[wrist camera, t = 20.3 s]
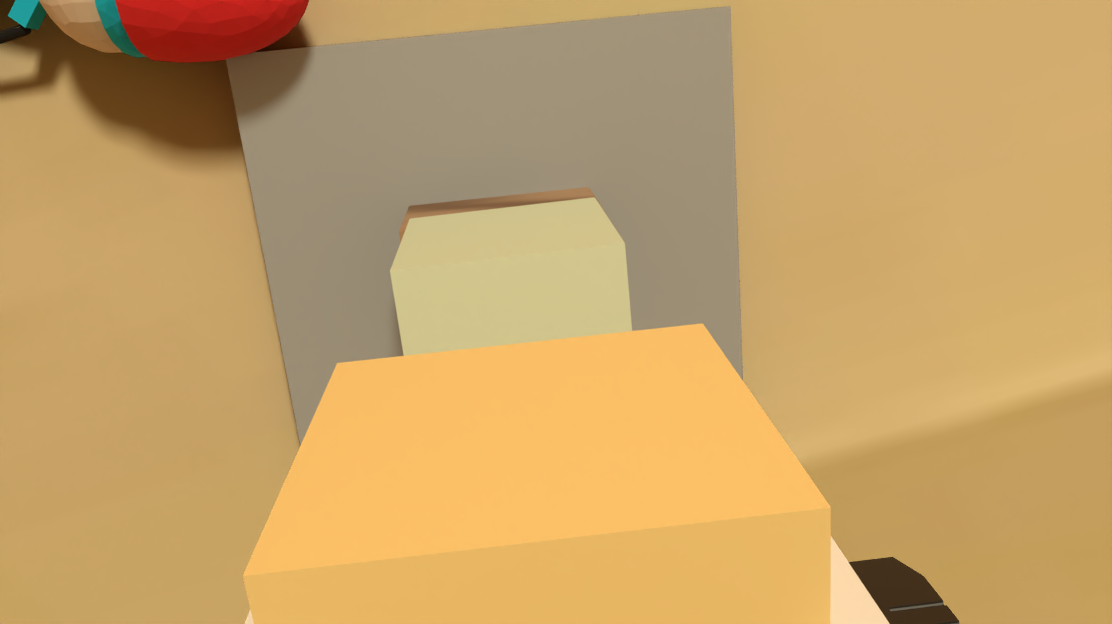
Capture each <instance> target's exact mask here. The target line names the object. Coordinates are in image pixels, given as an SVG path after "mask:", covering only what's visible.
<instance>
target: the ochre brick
mask: <svg viewBox="0 0 1112 624" xmlns="http://www.w3.org/2000/svg"><path fill="white" fill-rule="evenodd" d="M243 579H244V583H245V587H246V592H247V596H248V601H249V605H250V610H251V614H252V618H253V623H254V624H830V606H831V507H830V506H829V504H828V503H827V501H826V500H825V499H824V497H823V496H822V494H821V493H820V491H819V490H818V489H817V487H816V486H815V484H814V483H813V481H812V480H811V478H810V477H809V476H808V474H807V473H806V471H805V470H804V468H803V467H802V466H801V464H800V463H799V461H798V460H797V458H796V457H795V455H794V454H793V453H792V451H791V450H790V448H789V447H788V445H787V444H786V442H785V441H784V440H783V438H782V437H781V435H780V434H779V432H778V431H777V430H776V428H775V427H774V425H773V424H772V422H771V421H770V419H769V418H768V417H767V415H766V414H765V412H764V411H763V409H762V408H761V406H760V405H759V404H758V402H757V401H756V399H755V398H754V396H753V395H752V394H751V392H750V391H749V389H748V388H747V386H746V385H745V383H744V382H743V381H742V379H741V378H740V376H739V375H738V373H737V372H736V370H735V369H734V368H733V366H732V365H731V363H730V362H729V360H728V359H727V358H726V356H725V355H724V353H723V352H722V350H721V349H720V347H719V346H718V345H717V343H716V342H715V340H714V339H713V337H712V336H711V334H710V333H709V332H708V330H707V329H706V327H705V326H704V324H703V323H702V324H693V325H684V326H674V327H665V328H656V329H647V330H637V331H628V332H619V333H610V334H600V335H591V336H582V337H573V338H564V339H554V340H545V341H536V342H527V343H517V344H508V345H499V346H490V347H481V348H471V349H462V350H453V351H444V352H434V353H425V354H416V355H407V356H397V357H388V358H379V359H370V360H361V361H351V362H342V363H337V364H336V367H335V369H334V371H333V374H332V376H331V378H330V380H329V383H328V385H327V387H326V389H325V392H324V394H323V396H322V398H321V401H320V403H319V405H318V407H317V410H316V412H315V414H314V416H313V419H312V421H311V423H310V425H309V428H308V430H307V432H306V435H305V437H304V439H303V441H302V444H301V446H300V448H299V450H298V453H297V455H296V457H295V459H294V462H293V464H292V466H291V468H290V471H289V473H288V475H287V477H286V480H285V482H284V484H283V486H282V489H281V491H280V493H279V496H278V498H277V500H276V502H275V505H274V507H273V509H272V511H271V514H270V516H269V518H268V520H267V523H266V525H265V527H264V529H263V532H262V534H261V536H260V538H259V541H258V543H257V545H256V547H255V550H254V552H253V554H252V556H251V559H250V561H249V563H248V566H247V568H246V570H245V572H244V575H243Z"/></svg>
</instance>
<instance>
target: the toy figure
mask: <svg viewBox="0 0 1112 624" xmlns="http://www.w3.org/2000/svg"><path fill="white" fill-rule="evenodd" d="M308 2H309V0H15V2H14V4H13V6H12V8H11V10H10V12H9V14H8V16H9V17H10V18H12V19H13V20H15V21H16V22H17V23H19V24H20V25H18V26H15V27H12V28H8V29H5V30H2V31H0V44H1V43H4V42H7V41H10V40H13V39H16V38H20V37H23V36H26V35H28V34H30V33H31V29H36V30H38V29H39V27H40V25H41V23H42V21H43V19H44V17H45V15H46V14H48V15H49V17H50V18H51V19H52V20H53V21H54V23H55V24H56V25H57V26H58V27H59V28H60V29H61V30H62V31H63V32H64V33H65V34H67V35H68V36H70V37H71V38H73V39H74V40H75V41H77V42H78V43H80V44H82V45H85V46H88V47H90V48H93V49H96V50H98V51H101V52H105V53H119V52H123V53H125V54H128V55H130V56H133V57H136V58H139V57H148V58H150V59H151V60H153V61H167V62H181V63H188V62H207V61H219V60H225V59H229V58H233V57H238V56H242V55H247V54H250V53H253V52H255V51H257V50H260V49H262V48H264V47H267V46H269V45H271V44H273V43H274V42H276V41H277V40H279V39H280V38H282V37H284V36H285V35H287V34H288V33H289V32H290V31H291V30H292V29H293V28H294V27H295V26H296V25H297V24H298V22H299V21H300V19H301V17H302V16H303V14H304V13H305V10H306V8H307V5H308Z"/></svg>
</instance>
